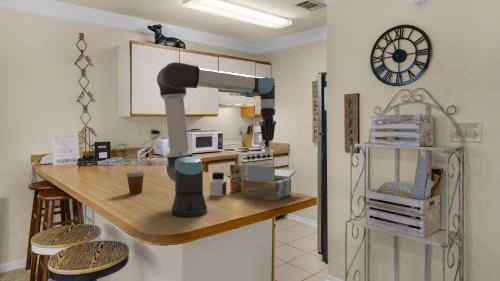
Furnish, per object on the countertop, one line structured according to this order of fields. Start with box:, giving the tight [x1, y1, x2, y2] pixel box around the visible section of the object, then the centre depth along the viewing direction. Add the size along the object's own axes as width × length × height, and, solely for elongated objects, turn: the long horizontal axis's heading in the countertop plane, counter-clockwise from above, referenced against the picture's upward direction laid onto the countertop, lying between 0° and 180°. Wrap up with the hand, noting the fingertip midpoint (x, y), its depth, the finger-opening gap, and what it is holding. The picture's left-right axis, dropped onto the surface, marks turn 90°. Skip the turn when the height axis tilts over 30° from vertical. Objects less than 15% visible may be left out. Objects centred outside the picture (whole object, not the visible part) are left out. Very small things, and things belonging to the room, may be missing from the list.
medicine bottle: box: [209, 171, 227, 197], centre depth 176 cm, size 7×7×12 cm
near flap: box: [246, 164, 276, 182], centre depth 166 cm, size 1×16×7 cm, turn 55°
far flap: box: [274, 168, 296, 179], centre depth 182 cm, size 1×16×7 cm
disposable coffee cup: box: [125, 169, 145, 195], centre depth 181 cm, size 10×10×12 cm
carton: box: [244, 177, 292, 202], centre depth 172 cm, size 16×20×9 cm
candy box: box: [229, 163, 247, 194], centre depth 182 cm, size 9×4×15 cm, turn 46°
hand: (268, 153), depth 172 cm, fingers closed
